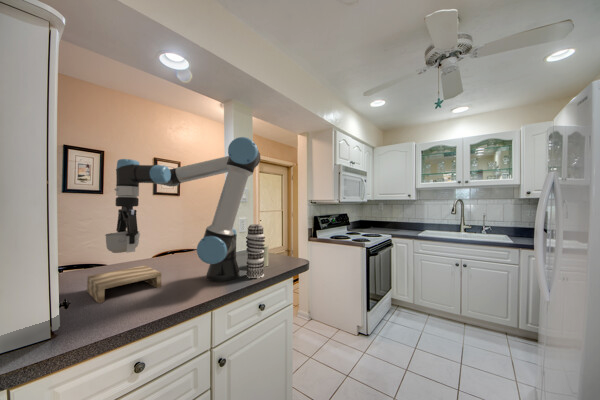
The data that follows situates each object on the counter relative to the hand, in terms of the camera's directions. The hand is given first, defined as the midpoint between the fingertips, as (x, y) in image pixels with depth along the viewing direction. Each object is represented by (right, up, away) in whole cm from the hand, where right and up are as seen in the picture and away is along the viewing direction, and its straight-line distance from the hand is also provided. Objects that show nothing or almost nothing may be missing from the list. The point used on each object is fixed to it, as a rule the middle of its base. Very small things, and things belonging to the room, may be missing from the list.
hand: (126, 250), depth 92 cm
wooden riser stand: (0, -16, 0) cm, 16 cm away
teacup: (0, -1, +1) cm, 1 cm away
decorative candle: (+50, -17, +17) cm, 55 cm away
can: (+49, -17, +35) cm, 63 cm away
